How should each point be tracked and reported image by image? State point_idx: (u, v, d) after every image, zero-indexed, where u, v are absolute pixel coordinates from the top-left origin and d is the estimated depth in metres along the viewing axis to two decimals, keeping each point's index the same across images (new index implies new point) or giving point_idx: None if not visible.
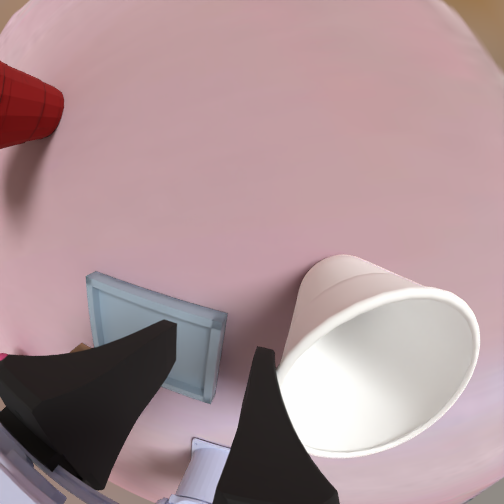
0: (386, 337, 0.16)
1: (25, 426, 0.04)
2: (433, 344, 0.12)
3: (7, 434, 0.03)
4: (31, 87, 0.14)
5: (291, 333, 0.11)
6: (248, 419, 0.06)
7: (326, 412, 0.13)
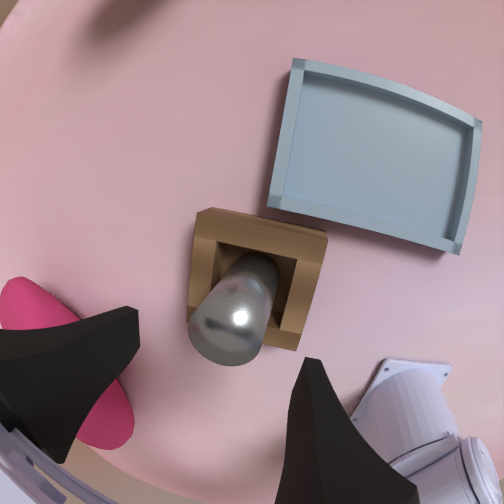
0: None
1: None
2: None
3: (7, 434, 0.03)
4: None
5: None
6: (322, 432, 0.05)
7: None
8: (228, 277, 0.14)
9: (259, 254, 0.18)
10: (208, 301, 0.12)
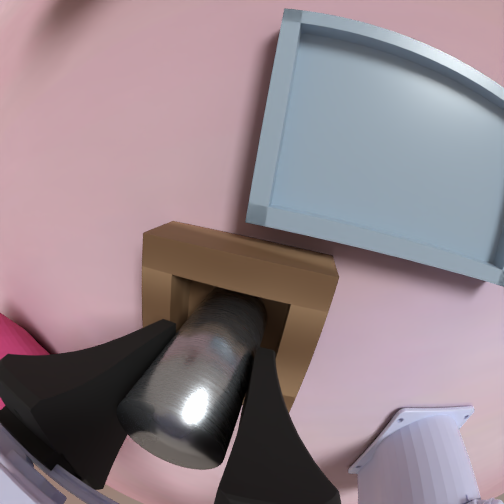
0: None
1: (24, 425, 0.04)
2: None
3: (7, 434, 0.03)
4: None
5: None
6: (249, 419, 0.06)
7: None
8: (181, 338, 0.09)
9: None
10: (137, 392, 0.06)
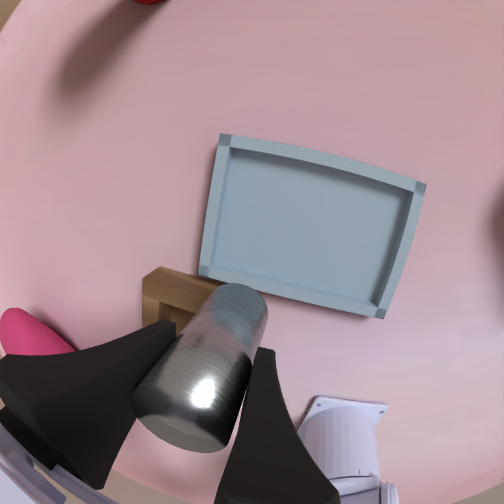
0: None
1: (24, 425, 0.04)
2: None
3: (7, 434, 0.03)
4: None
5: None
6: (249, 419, 0.06)
7: None
8: (195, 330, 0.10)
9: (244, 290, 0.13)
10: (157, 378, 0.07)
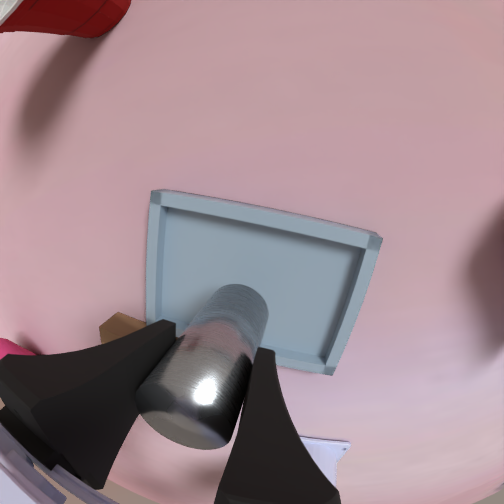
0: None
1: (24, 425, 0.04)
2: None
3: (7, 434, 0.03)
4: None
5: None
6: (249, 419, 0.06)
7: None
8: (202, 329, 0.10)
9: (249, 292, 0.14)
10: (166, 375, 0.07)
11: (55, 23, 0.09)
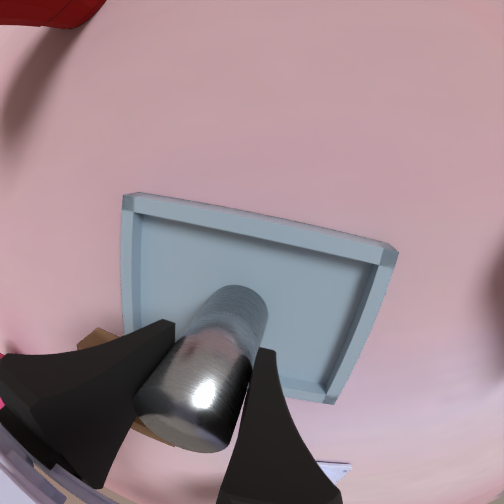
0: None
1: (23, 425, 0.04)
2: None
3: (7, 434, 0.03)
4: None
5: None
6: (251, 420, 0.06)
7: None
8: (200, 333, 0.10)
9: (248, 293, 0.14)
10: (164, 381, 0.07)
11: (27, 13, 0.06)
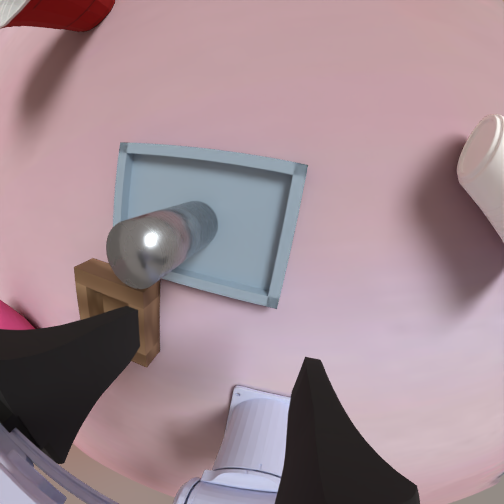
0: None
1: None
2: None
3: (7, 434, 0.03)
4: None
5: None
6: (322, 432, 0.05)
7: None
8: (158, 210, 0.15)
9: (201, 204, 0.18)
10: (127, 219, 0.12)
11: (53, 19, 0.11)
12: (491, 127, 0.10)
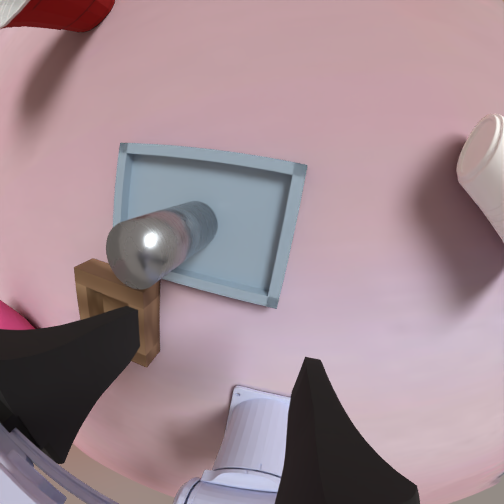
0: None
1: None
2: None
3: (7, 434, 0.03)
4: None
5: None
6: (322, 432, 0.05)
7: None
8: (158, 210, 0.15)
9: (201, 204, 0.18)
10: (127, 220, 0.12)
11: (53, 20, 0.11)
12: (490, 127, 0.10)
